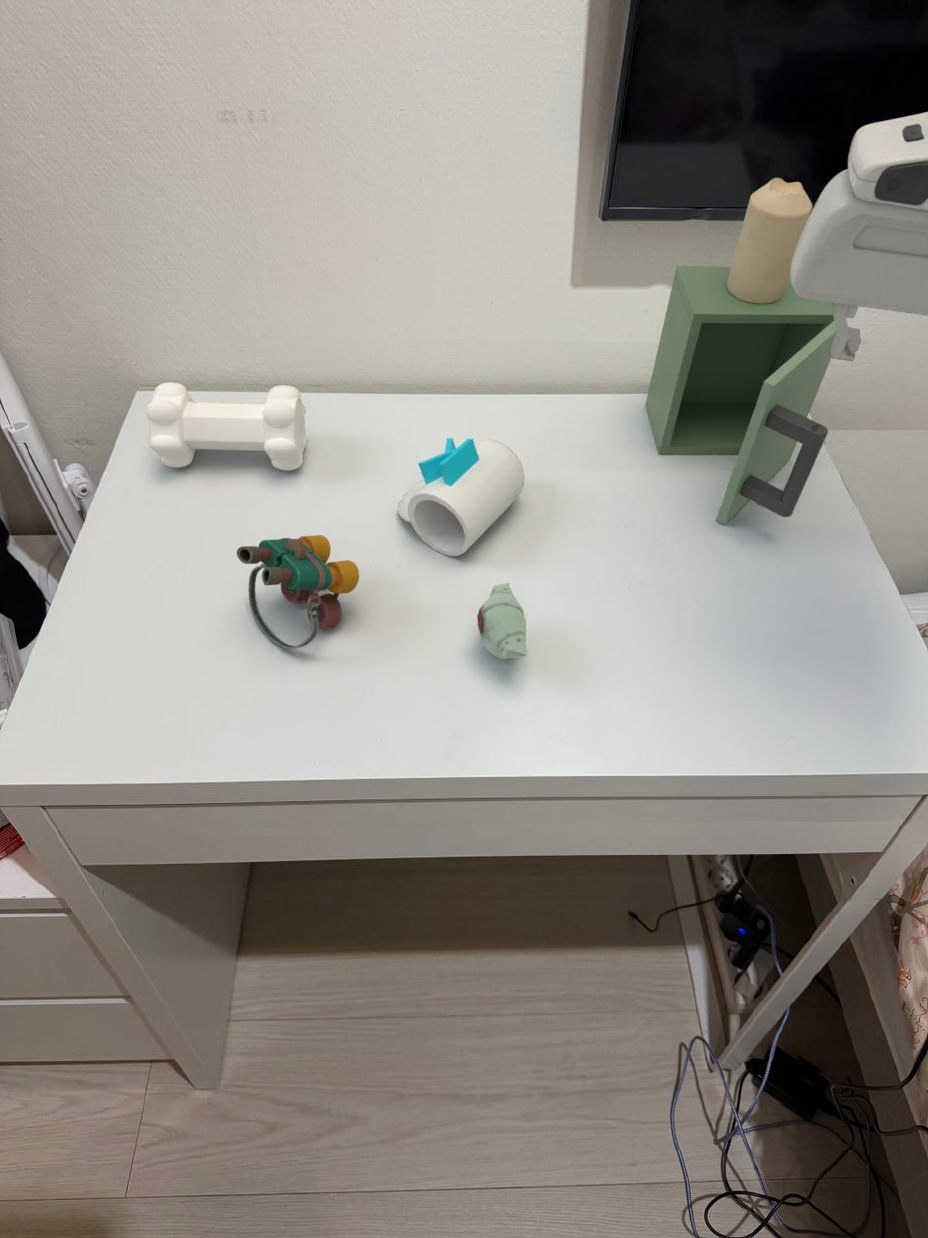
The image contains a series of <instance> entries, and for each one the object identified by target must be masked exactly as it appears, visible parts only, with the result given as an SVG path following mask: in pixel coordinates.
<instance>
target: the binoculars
mask: <svg viewBox="0 0 928 1238" xmlns="http://www.w3.org/2000/svg"><path fill="white" fill-rule="evenodd" d="M331 552H332V551H331V543H330V541H329V539H328V538H327V537H326V536H325V535H322V534H315V535H303V536H300V537H298V538H291V537H282V538H279V539H263V540H261V541H260V542H259V544H258V546H256V545H251V546H250V545H249V546H248V545H247V546H245V545H244V546H243V545H242V546H240V547H238V548H237V550H236V556H237V559H238V560H239V561H240V562H241V563H243V564H245V565H256V564H259V563H260V565H258V566H255V567H253V569H252V570H251V572H250V574H249V577H248V592H247V593H248V601H249V607H250V610H251V613H252V616H253V618H254V620H255V622H256V623H257V625H258V627H259V628H260V629H261V631H262V632H263V634H264V635H265V636H266V637H267V638H268V639H269V640H270V641H272V642H273V643H274V644H275V645H278V646H279V647H282V648H284V649H288V650H294V649H300V648H303V647H305V646H307V645H309V644H310V643H311V642H312V641H314V639H315V638H316V637H317V635H318V633H319V630H320V629H333V628H336V627H338V626H339V624H340V623H341V621H342V617H343V616H342V615H343V610H342V606H341V603H340V601H339V599H338V598H339V596H340V594H349V593H351V592H353V591H354V590H355V589H356V588H357V585H358V584H359V580H360V570H359V567H358V566H357V564H356V563H355V562H354V561H352V560H349V559H347V560H338V561H329V562H328V560H329V558H330V556H331ZM262 569H263V570H262ZM261 570H262V571H261ZM260 571H261V573H262V574H261V580H262V583H263V585H264V586H277V585H280V591H281V594H282V596H283V597H284V599H285V600H286V601H288V602H290V603H291V602H293V603H294V602H295V603H296V602H297V603H298V602H299V603H300V602H303V603H304V602H305V603H306V602H307V603H306V605H307V608H306V613H307V619H308V621H309V622H310V624H311V631H310V633H309V635H308V637H307V638H306V639H305V640H304V641H302V642H301V643H299V644H297V645H291V644H288V643H286V642H285V641H283V640H281V639H279V638H278V637H277V636H276V635H275V634H274V633H273V632H272V631H271V630H270V628H268V626H267V624H266V623H265V620H264V619H263V617H262V615H261V613H260V611H259V608H258V604H257V598H256V582H257V581H256V580H257V577H258V573H259V572H260ZM326 590H327V591H328V593H324V594H321V595H319V594H320V593H321V591H323V592H324V591H326ZM329 592H330V593H329Z"/></svg>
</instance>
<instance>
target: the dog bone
mask: <svg viewBox="0 0 928 1238" xmlns="http://www.w3.org/2000/svg"><path fill="white" fill-rule="evenodd" d="M145 413H146V417H147V421H148V429H149V439H150V440H149V442H148V446H149V448H150V449H151V451H153V452H154V453H156V454H157V455H158V456H159V457H160V461H161V463H162V464H163V465H164V466H166V467H170V468H176V469H177V468H184V467H187V466H189V465H190V464H191V463H192V462H193V459H194V455H195V453H196V451H197V450H217V451H250V452H251V451H252V452H253V451H255V452H257V451H258V452H265V453H266V454H267V456H268V458H269V460H270V463H271V465H272V466H273V467H274V468H276V469H277V470H280V471H285V472H286V471H293V470H294V471H295V470H297V469H299V468H300V467H301V466H302V464H303V462H304V458H303V457H304V452H305V448H306V446H307V444H308V438H307V434H306V413H307V408H306V406H305V405H304V404H303V401H302V398H301V393H300V391H299V390H298V389H297V388H296V387H294V386H291V385H286V384H285V385H283V384H282V385H276V386H273V387H272V388H271V389H270V390H268V392H267V397H266V401H265V403H264V404H263V403H230V402H229V403H227V402H195V401H194V400H193V399H192V397H191V396H190V394H189V391H188V389H187V388H186V386H185V385H183V384H181V383H179V382H174V381H173V382H172V381H170V382H169V381H167V382H163V383H160V384H158V385H157V386H156V387H155V389H154V392H153V396H152V399H151V402H149V404H147V406H146V412H145Z"/></svg>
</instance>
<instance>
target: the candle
mask: <svg viewBox="0 0 928 1238" xmlns="http://www.w3.org/2000/svg"><path fill="white" fill-rule="evenodd" d="M812 210H813V203H812V202H811V199H810V198H809V195H808V194H807V192H806V190H805V189H804V187H803V185H802V183H801V182H799V181H793V182H786V181H785V180H783V178H780V177H774V178H772V179H771V180H769V181H768V182H767V183H765V184H764V185H763V186H761V187H760V188H758V189H757V190H756V191H754V192H753V193H752V194H751V195H750V197H749V200H748V203H747V208H746V211H745V216H744V219H743V223H742V226H741V230H740V234H739V237H738V241H737V244H736V247H735V252H734V255H733V259H732V262H731V266H730V267H731V269H730V273H729V277H728V281H727V288H728V290H729V292H730V293H731V294H732V295H734V296H735V297H737V298H739V299H741V300H744V301H747V302H751V303H760V304H763V303H771V302H775V301H777V300H778V299H780V298H781V296H782V295H783V292H784V290H785V287H786V284H787V281H788V278H789V275H790V270H791V262H792V258H793V255H794V252H795V249H796V247H797V244H798V241H799V239H800V236H801V234H802V232H803V229H804V227H805V225H806V223H807V220H808V218H809V216H810V214H811V212H812Z"/></svg>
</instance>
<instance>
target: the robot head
mask: <svg viewBox="0 0 928 1238" xmlns="http://www.w3.org/2000/svg"><path fill="white" fill-rule="evenodd" d="M476 616H477V627H478V631H479V635H480V638H481V641H482V643H483V645H484V648H485V649H486V650H487V651H488V652H489V653H490V654H491V655H492V656H494V657H495V658H497V659H498V660H499V659H500V660H508V659H515V658H519V657H524V656H528V653H527V645H526V641H527V620H526V616H525V612H524V609H523V607H522V606H521V604H520V603H519V602H518V599H516V597H515V595H514V594H513V590H512V588H511V586H510V583H509V582H507V583H501V584H496V585H493V586H492V588H491V591H490V593H489V597H488V598H487V599H486V601H485V602H484V603H483V604H482V605H481V606H480V607H479V610H478V612H477V615H476Z"/></svg>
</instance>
